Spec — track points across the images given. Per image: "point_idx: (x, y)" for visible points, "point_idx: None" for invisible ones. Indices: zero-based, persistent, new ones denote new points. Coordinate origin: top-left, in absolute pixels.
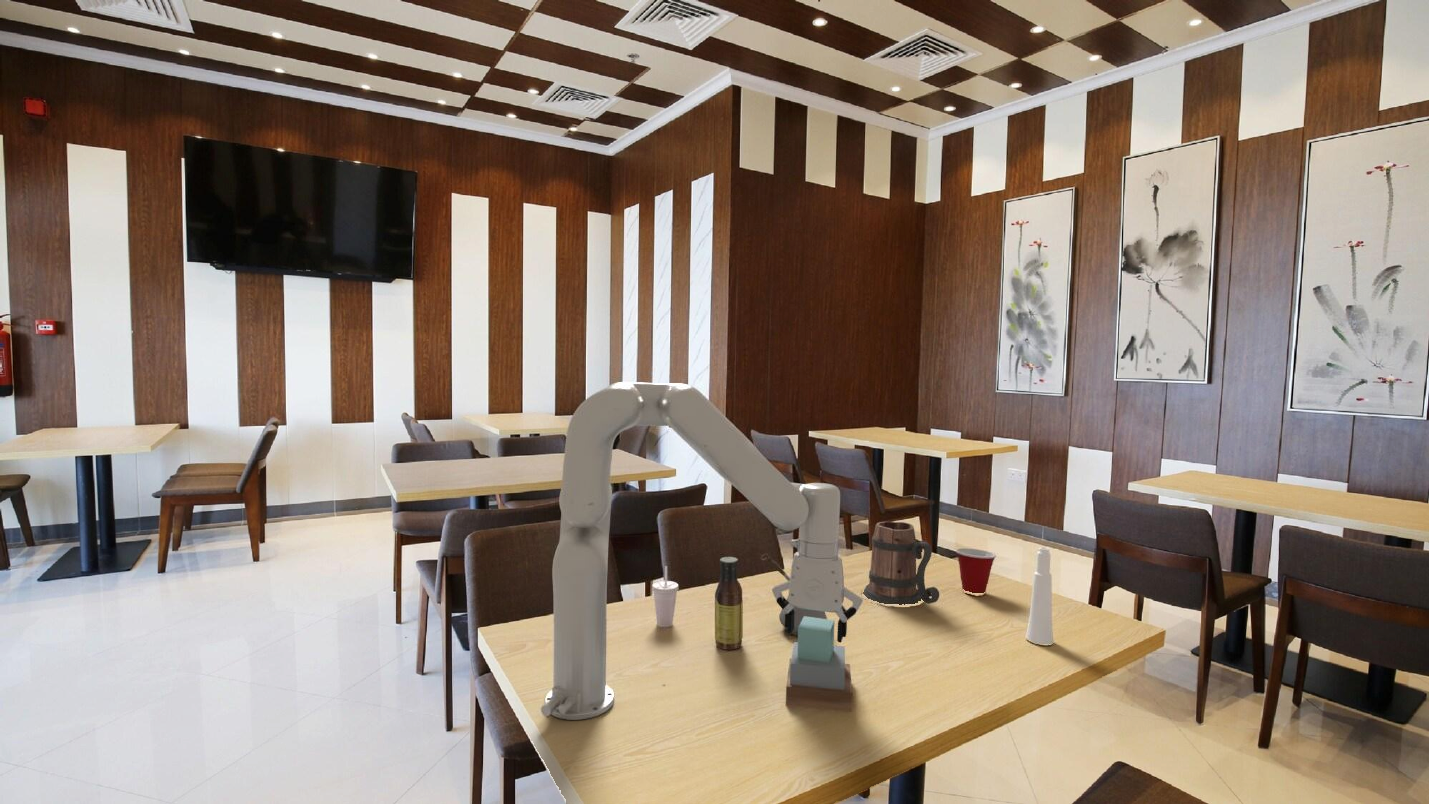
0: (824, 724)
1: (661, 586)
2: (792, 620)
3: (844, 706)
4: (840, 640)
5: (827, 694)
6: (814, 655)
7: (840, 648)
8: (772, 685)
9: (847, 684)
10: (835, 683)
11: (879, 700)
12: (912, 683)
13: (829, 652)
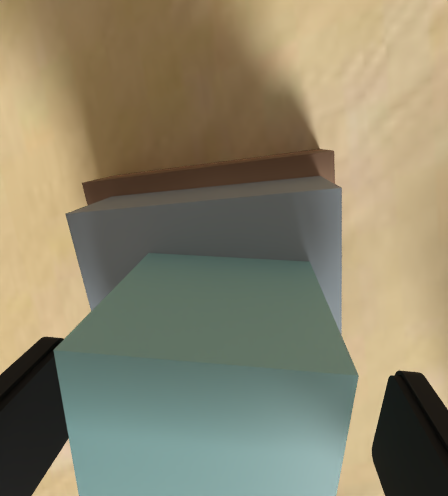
0: (175, 60)
1: None
2: (423, 494)
3: (127, 174)
4: (38, 341)
5: (172, 170)
6: (217, 267)
7: None
8: (376, 264)
9: None
10: (135, 197)
11: (55, 266)
12: None
13: (128, 276)
